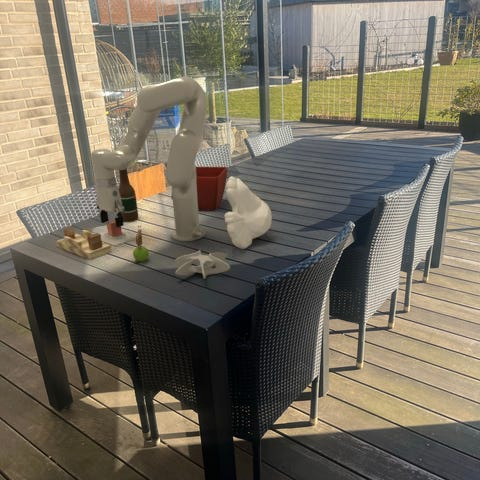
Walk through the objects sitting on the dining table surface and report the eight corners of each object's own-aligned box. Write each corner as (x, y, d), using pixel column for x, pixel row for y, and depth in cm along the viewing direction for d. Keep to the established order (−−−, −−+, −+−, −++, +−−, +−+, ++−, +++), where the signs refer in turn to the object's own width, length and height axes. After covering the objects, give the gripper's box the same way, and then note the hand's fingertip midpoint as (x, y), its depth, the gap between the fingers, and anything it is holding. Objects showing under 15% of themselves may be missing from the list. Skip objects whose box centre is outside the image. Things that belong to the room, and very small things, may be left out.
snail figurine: (151, 256, 173) (147, 224, 168) (148, 263, 167) (144, 231, 162) (135, 256, 172) (131, 225, 168) (132, 264, 166) (128, 232, 162)
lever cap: (126, 236, 191) (124, 221, 189) (115, 240, 187) (113, 225, 185) (114, 232, 196) (112, 218, 194) (104, 236, 193) (102, 221, 190)
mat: (137, 237, 191) (137, 236, 190) (115, 246, 183) (115, 245, 183) (113, 230, 200) (113, 228, 200) (91, 238, 192) (90, 237, 192)
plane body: (111, 251, 178) (108, 232, 175) (90, 259, 172) (87, 240, 169) (78, 239, 191) (74, 222, 189) (57, 246, 185) (54, 228, 182)
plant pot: (220, 213, 214) (218, 176, 208) (179, 212, 218) (176, 176, 212) (229, 200, 232) (227, 166, 225) (192, 200, 236) (189, 166, 229)
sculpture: (219, 288, 147) (217, 269, 144) (162, 280, 154) (160, 262, 152) (240, 265, 162) (239, 248, 159) (188, 258, 169) (186, 242, 167)
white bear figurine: (248, 209, 196) (216, 170, 179) (281, 207, 186) (250, 166, 170) (228, 262, 185) (192, 225, 168) (262, 262, 175) (227, 224, 159)
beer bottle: (121, 223, 208) (113, 169, 199) (120, 218, 215) (112, 165, 206) (139, 221, 209) (132, 167, 201) (138, 215, 216) (131, 163, 208)
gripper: (127, 182, 180) (133, 225, 187) (100, 177, 191) (107, 217, 197) (111, 187, 175) (118, 231, 181) (84, 181, 186) (91, 223, 192)
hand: (112, 224), depth 189 cm, fingers open, 9 cm apart
